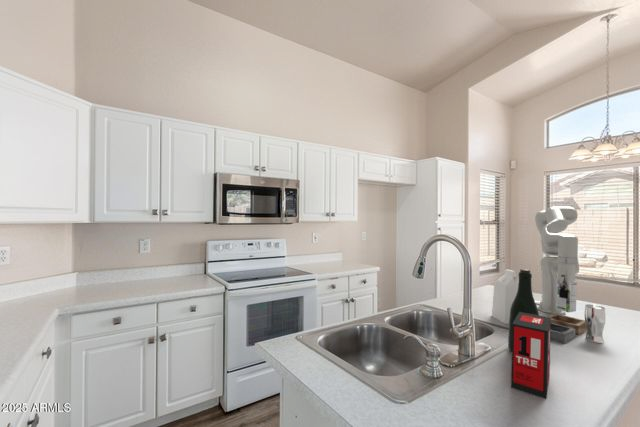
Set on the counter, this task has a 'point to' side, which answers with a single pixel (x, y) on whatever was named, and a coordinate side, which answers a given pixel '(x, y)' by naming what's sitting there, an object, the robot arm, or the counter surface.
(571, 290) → the syrup box
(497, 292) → the milk
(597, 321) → the beer glass
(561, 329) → the gray square frame
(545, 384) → the cleaning product box
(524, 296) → the dark green wine bottle
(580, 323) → the walnut holder
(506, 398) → the counter surface
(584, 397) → the counter surface
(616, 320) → the counter surface
